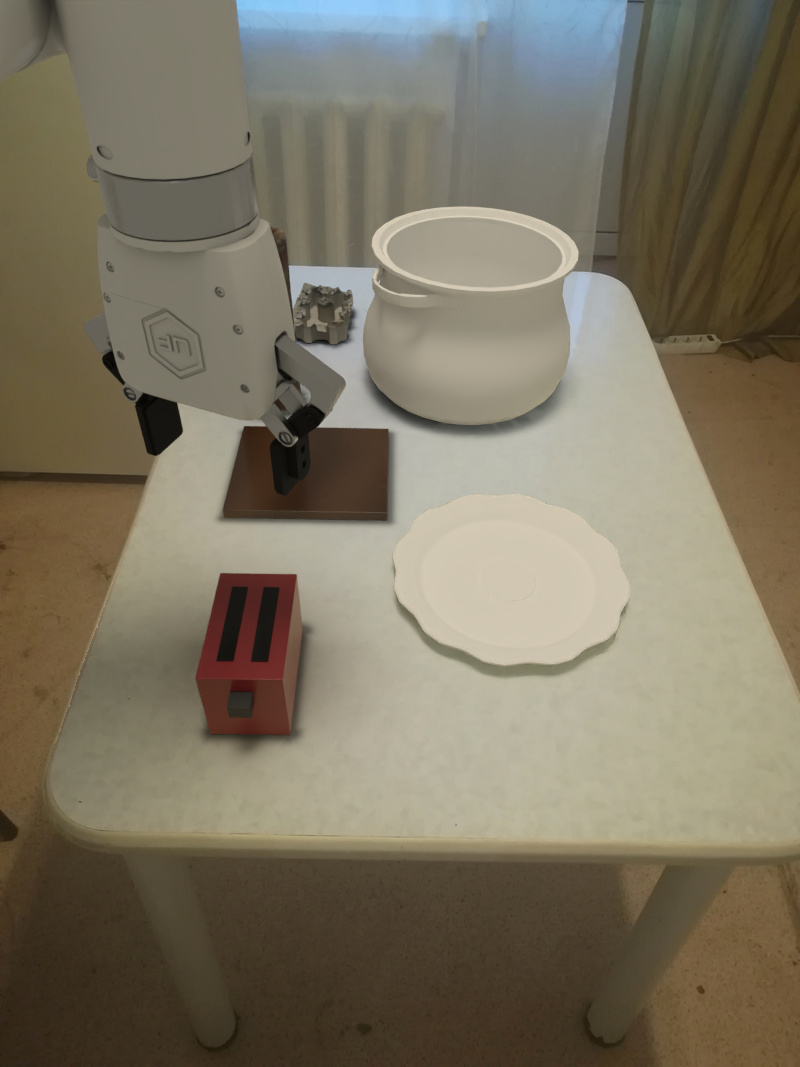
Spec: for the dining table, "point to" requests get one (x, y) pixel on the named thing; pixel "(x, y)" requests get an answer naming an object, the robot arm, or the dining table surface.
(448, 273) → the pot
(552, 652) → the plate
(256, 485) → the board
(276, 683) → the toaster
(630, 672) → the dining table surface
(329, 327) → the grey hollow ruin block
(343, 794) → the dining table surface
